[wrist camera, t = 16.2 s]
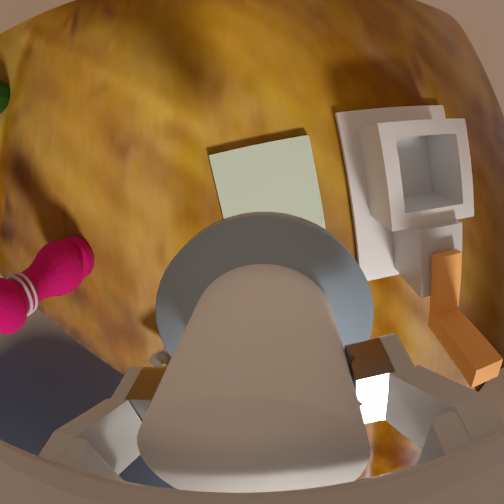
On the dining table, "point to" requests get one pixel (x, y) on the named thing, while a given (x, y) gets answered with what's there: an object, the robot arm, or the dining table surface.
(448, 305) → the release bolt
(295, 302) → the cartridge
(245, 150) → the mat
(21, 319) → the pepper mill
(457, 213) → the housing
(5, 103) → the bell pepper
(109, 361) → the dining table surface
